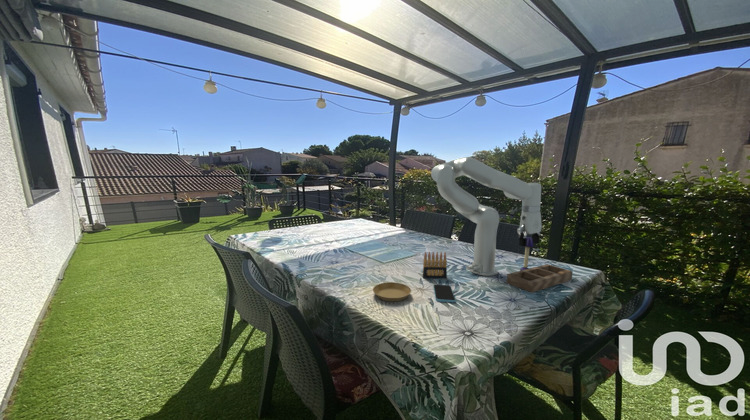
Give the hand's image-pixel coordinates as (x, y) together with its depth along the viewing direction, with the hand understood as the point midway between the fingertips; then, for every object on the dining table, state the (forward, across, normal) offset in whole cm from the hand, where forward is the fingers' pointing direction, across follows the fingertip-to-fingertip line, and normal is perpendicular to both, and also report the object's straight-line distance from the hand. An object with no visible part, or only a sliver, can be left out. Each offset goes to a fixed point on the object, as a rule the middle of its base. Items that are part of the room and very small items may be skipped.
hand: (529, 244), depth 130 cm
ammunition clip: (+12, -46, +14) cm, 50 cm away
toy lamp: (+14, -1, 0) cm, 14 cm away
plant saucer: (+12, -73, +7) cm, 74 cm away
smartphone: (+13, -54, -1) cm, 55 cm away
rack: (+13, -8, -11) cm, 19 cm away
